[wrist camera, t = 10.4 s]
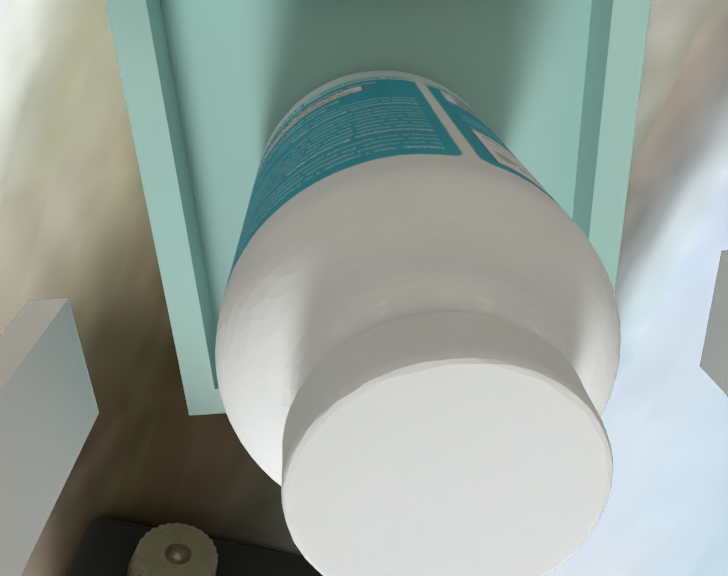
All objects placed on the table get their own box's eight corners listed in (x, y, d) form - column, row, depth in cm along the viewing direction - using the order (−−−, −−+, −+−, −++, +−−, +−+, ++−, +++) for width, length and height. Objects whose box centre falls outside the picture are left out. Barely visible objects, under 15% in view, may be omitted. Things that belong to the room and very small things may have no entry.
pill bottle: (244, 273, 23) (148, 649, 11) (278, 40, 19) (196, 197, 7) (463, 309, 24) (602, 691, 12) (529, 93, 20) (816, 309, 8)
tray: (200, 378, 25) (189, 415, 23) (120, -49, 19) (95, -48, 17) (581, 352, 25) (602, 386, 23) (627, -77, 19) (661, -80, 17)
